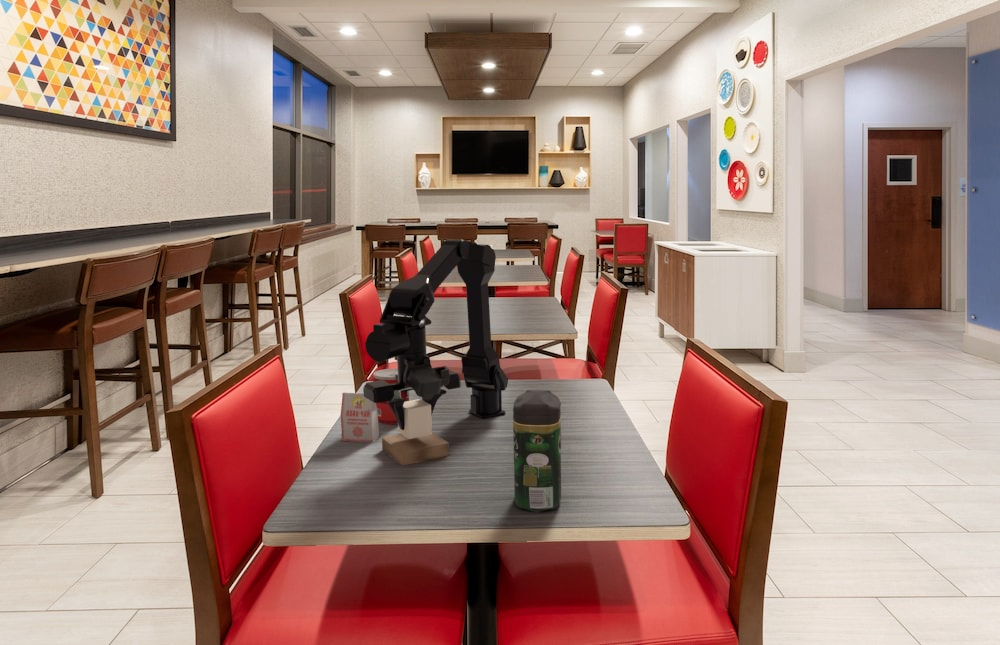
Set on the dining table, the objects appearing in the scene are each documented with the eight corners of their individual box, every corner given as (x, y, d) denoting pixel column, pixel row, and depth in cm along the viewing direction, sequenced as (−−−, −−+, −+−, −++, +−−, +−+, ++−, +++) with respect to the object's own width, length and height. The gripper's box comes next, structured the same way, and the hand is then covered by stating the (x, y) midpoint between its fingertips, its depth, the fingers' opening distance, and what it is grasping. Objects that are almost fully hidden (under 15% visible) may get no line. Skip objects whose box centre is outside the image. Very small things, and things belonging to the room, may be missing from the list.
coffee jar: (516, 488, 124) (515, 385, 120) (562, 489, 123) (562, 386, 119) (511, 512, 114) (509, 402, 111) (560, 514, 113) (560, 403, 110)
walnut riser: (427, 442, 148) (426, 428, 147) (449, 457, 140) (448, 442, 139) (382, 451, 143) (381, 437, 142) (402, 467, 135) (402, 453, 134)
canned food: (403, 425, 158) (401, 377, 156) (369, 423, 159) (367, 376, 157) (414, 414, 165) (412, 369, 163) (382, 413, 167) (379, 367, 164)
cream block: (420, 427, 144) (419, 398, 143) (432, 434, 140) (431, 404, 139) (398, 432, 141) (397, 403, 140) (409, 439, 137) (407, 409, 136)
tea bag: (348, 435, 152) (346, 390, 150) (378, 436, 151) (376, 391, 149) (342, 441, 148) (339, 395, 146) (372, 442, 147) (370, 396, 145)
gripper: (383, 365, 126) (387, 448, 129) (473, 351, 136) (475, 428, 139) (360, 354, 135) (364, 431, 138) (446, 341, 145) (448, 414, 148)
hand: (414, 426), depth 140 cm, fingers closed on cream block, 5 cm apart
